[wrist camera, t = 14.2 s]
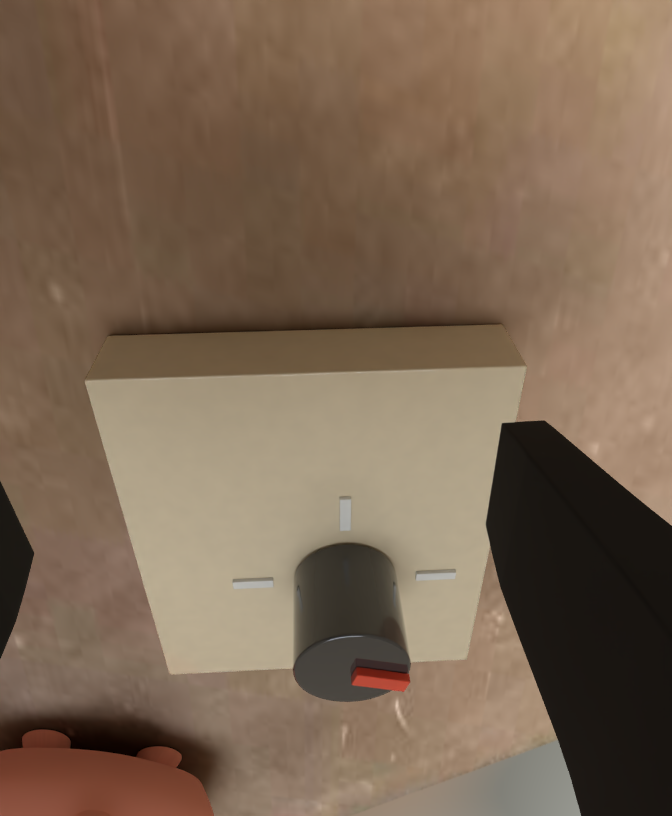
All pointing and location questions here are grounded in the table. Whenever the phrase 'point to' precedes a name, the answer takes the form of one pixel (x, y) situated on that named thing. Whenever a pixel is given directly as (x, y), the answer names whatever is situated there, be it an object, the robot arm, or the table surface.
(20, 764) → the pink rounded body
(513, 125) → the table surface
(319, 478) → the beige flat block
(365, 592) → the knob
